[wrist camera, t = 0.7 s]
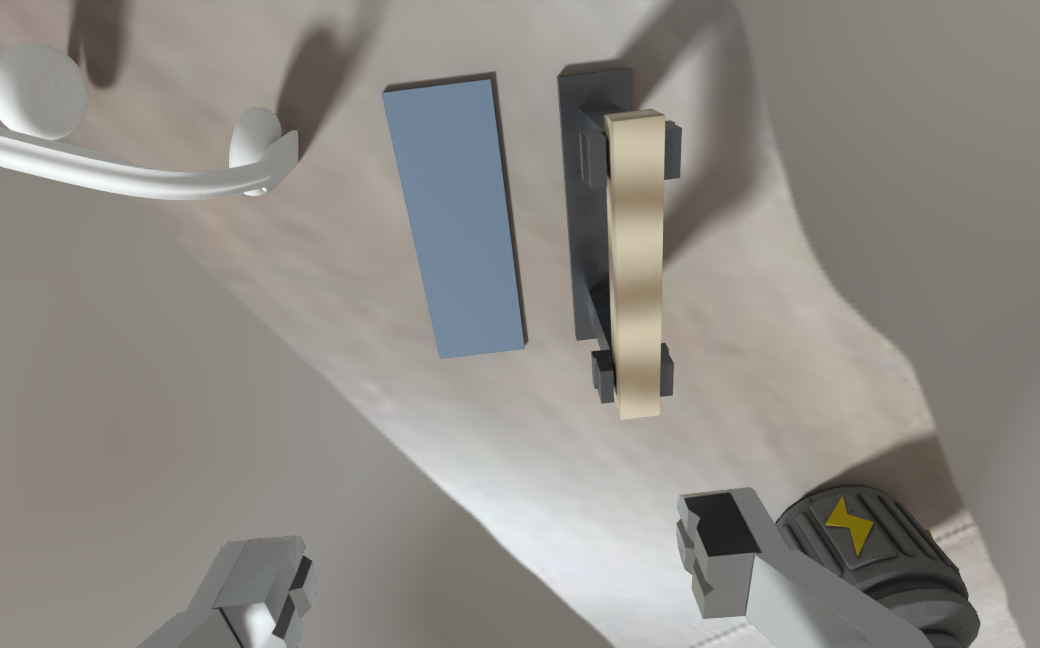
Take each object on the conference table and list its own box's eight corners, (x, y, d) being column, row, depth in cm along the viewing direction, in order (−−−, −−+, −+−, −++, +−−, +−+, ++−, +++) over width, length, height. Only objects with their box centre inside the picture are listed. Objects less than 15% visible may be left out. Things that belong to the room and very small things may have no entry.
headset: (315, 109, 44) (218, 150, 29) (306, 190, 48) (214, 267, 32) (50, 31, 41) (-222, 29, 25) (60, 124, 44) (-178, 173, 29)
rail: (604, 114, 33) (613, 121, 31) (651, 108, 33) (665, 115, 31) (613, 396, 44) (620, 419, 41) (649, 392, 44) (659, 415, 41)
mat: (382, 92, 44) (381, 93, 43) (490, 78, 44) (490, 79, 43) (440, 355, 56) (439, 358, 56) (524, 345, 56) (524, 348, 56)
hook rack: (557, 77, 44) (583, 95, 31) (629, 67, 44) (686, 82, 31) (575, 335, 56) (600, 428, 43) (632, 329, 56) (674, 419, 43)
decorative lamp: (895, 460, 67) (1156, 738, 40) (907, 550, 75) (1128, 827, 49) (748, 508, 70) (902, 795, 43) (775, 589, 78) (918, 870, 52)
